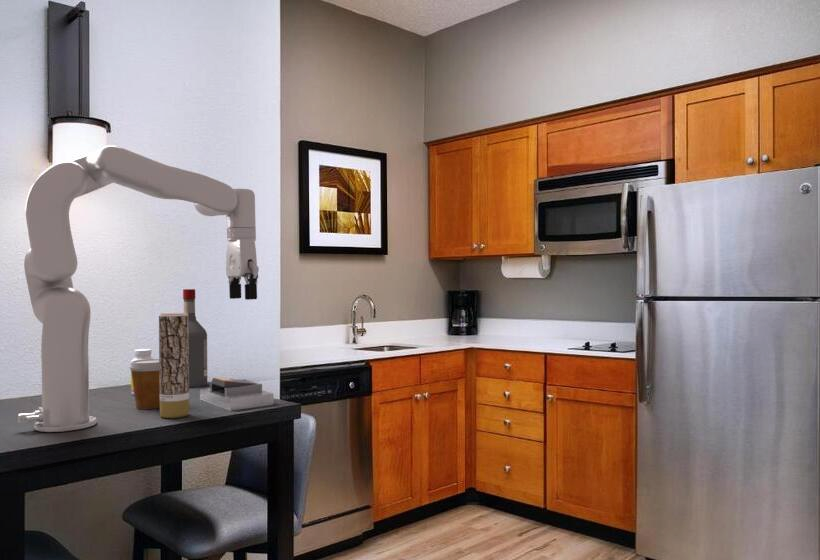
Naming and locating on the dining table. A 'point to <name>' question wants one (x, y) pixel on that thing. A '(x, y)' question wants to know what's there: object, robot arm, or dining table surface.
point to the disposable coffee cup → (146, 383)
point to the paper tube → (174, 364)
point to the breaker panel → (236, 396)
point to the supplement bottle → (140, 355)
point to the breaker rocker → (231, 382)
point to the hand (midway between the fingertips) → (243, 298)
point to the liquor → (195, 343)
